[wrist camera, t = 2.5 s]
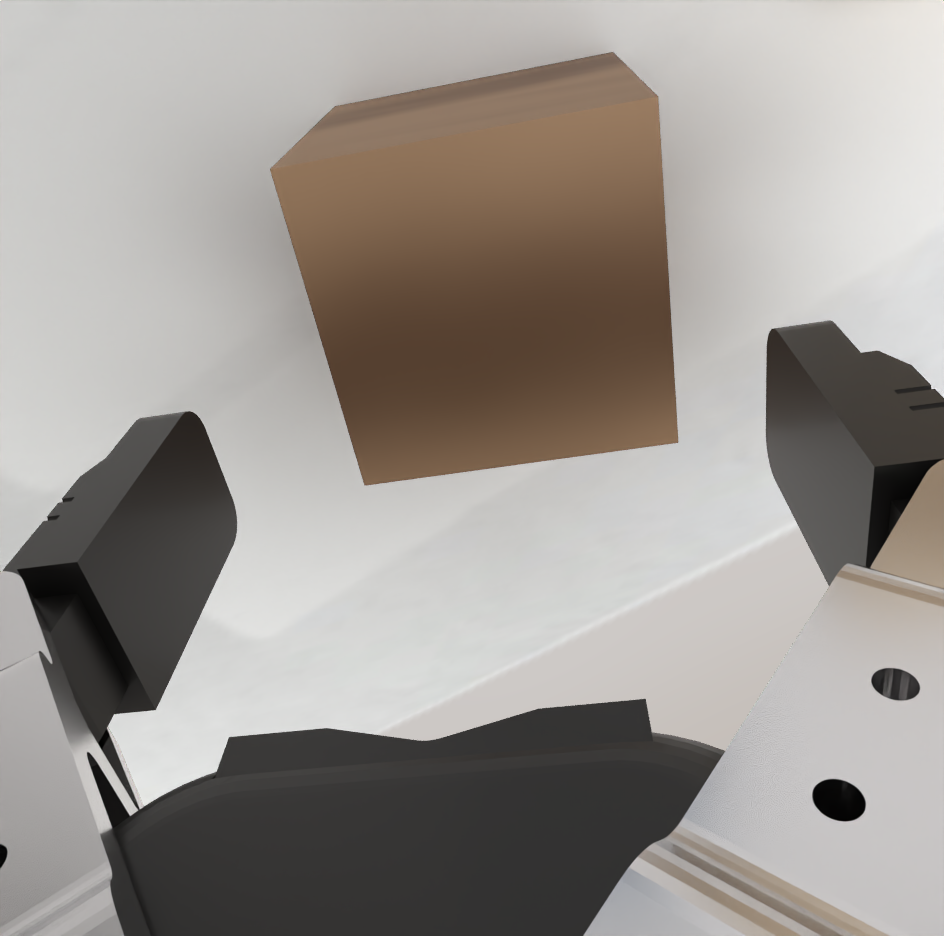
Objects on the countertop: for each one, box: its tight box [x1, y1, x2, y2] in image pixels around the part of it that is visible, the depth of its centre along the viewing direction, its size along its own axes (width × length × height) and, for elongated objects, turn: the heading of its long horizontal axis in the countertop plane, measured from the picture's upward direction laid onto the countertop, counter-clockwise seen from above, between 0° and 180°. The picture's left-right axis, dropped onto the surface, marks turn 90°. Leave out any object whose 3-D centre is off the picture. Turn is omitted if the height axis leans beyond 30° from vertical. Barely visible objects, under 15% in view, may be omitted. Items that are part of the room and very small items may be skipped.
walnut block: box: [270, 52, 678, 485], centre depth 17 cm, size 6×6×6 cm
